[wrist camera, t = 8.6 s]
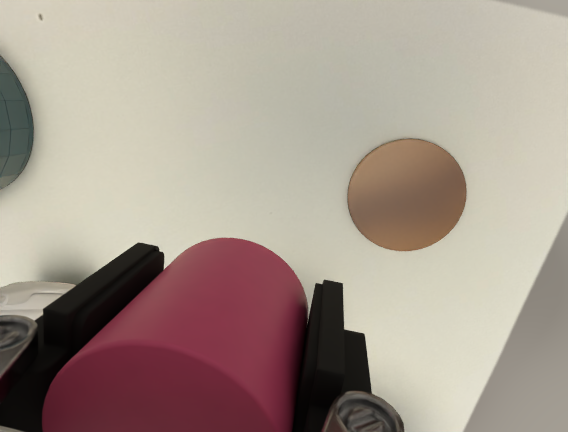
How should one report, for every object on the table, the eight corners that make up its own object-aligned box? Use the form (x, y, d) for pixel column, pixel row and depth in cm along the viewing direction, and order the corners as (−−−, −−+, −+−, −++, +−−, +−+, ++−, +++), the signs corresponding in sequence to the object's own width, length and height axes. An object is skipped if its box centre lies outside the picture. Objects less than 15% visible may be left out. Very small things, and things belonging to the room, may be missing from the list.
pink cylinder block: (133, 286, 12) (-9, 412, 7) (246, 206, 10) (170, 293, 6) (222, 393, 12) (149, 575, 8) (338, 329, 11) (339, 499, 6)
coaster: (325, 183, 31) (325, 184, 31) (424, 114, 29) (425, 114, 29) (387, 268, 33) (388, 271, 32) (487, 209, 30) (489, 211, 30)
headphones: (74, 409, 42) (-146, 665, 23) (26, 250, 37) (-304, 405, 18) (135, 410, 41) (-42, 679, 22) (94, 246, 36) (-180, 407, 17)
